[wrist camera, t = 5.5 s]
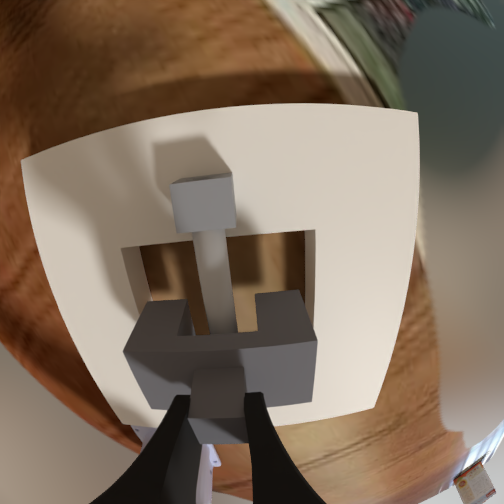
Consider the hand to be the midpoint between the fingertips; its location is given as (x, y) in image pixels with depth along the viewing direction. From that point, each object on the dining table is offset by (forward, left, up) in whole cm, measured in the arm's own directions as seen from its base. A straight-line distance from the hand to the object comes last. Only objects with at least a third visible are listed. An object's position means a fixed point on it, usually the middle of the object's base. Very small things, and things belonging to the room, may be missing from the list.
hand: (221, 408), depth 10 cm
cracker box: (-103, -83, -9) cm, 133 cm away
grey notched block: (0, 0, -5) cm, 5 cm away
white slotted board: (0, 0, -8) cm, 8 cm away
